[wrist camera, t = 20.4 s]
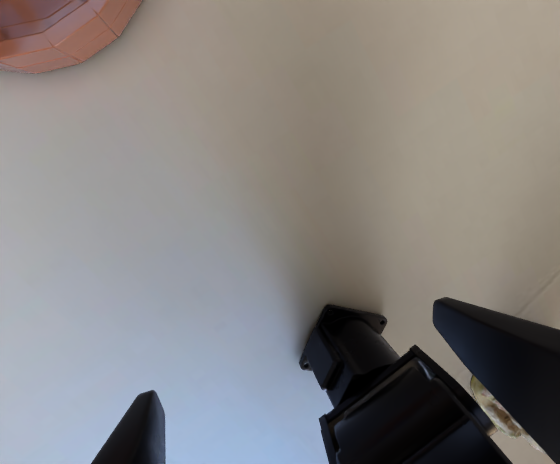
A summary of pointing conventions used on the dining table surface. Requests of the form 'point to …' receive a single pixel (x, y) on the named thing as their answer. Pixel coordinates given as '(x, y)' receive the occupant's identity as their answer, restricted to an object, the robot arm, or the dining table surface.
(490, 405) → the ceramic model
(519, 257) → the dining table surface
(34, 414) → the dining table surface
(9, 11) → the bowl
